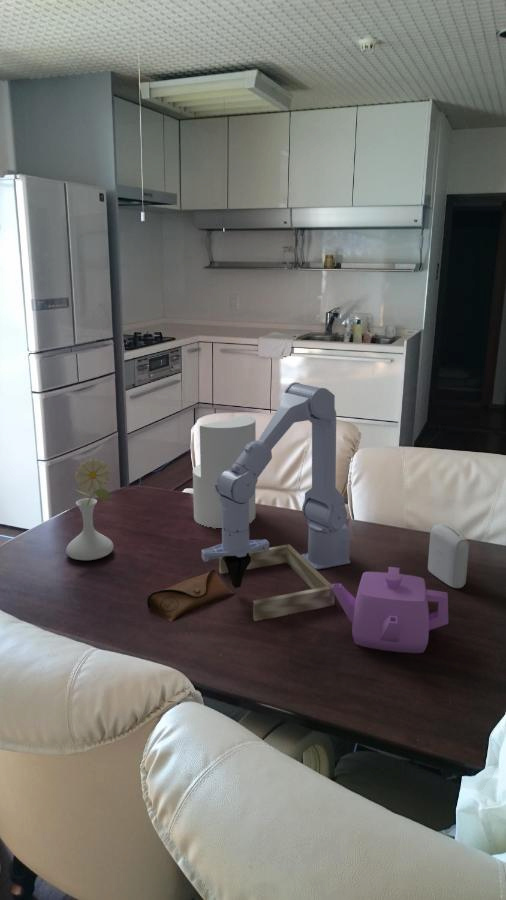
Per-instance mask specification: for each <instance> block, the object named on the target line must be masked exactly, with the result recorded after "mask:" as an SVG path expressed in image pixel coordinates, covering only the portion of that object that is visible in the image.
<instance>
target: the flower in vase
mask: <svg viewBox="0 0 506 900" xmlns="http://www.w3.org/2000/svg"><path fill="white" fill-rule="evenodd" d="M74 474H75V476H74V478H75V480H76V483H77V487H78V488H80V489H81V490H83V491H81V490H79V489H77V488H76V487H74V489H75V491H76V492H78V493H79V494H82V495H84V496H87V497H86V498H82V499H81V498H80V499H78V500H76V501H75V505H76V506H77V507H78V509H79V510H80V513H81V516H82V522H83V524H82V526H83V528H82V531H81V532H80V533H79V534H78V535H76V537H74V538H73V539H72V540H71V541H70V542H69V543H68V544H67V546H66V549H65V552H66V555H68V557H70V558H71V559H73V560H79V561H92V560H93V561H94V560H98V559H102V558H104V557H106V556H108V555H110V553H112V551H113V549H114V548H115V547H114V546H115V545H114V543H113V541H112V540H111V539H110V538H109V537H108V536H105V535H103V534H102V533H100V532H98V531H97V530H96V529H95V527H94V522H93V521H94V517H93V516H94V515H93V514H94V508H95V507H96V505H97V503H98V500H97V499H95V498H93V496H94V495H96V496H97V498H98V499H99V500H105V499H106V500H107V499H111V498H112V494H110V492H109V491H108V490H107V489H105V487H106V486H107V484H108V483H107V482H108V481H109V480H110V478H111V475H112V474H111V472H110V468H109V467H108V464H107V463H106V462H105V461H102V460H100V459H97V458H92V459H87V460H85V461H84V462H81V463H80V464H79V467H77V469H76V472H75V473H74ZM84 491H87V492H90V493H92V494H91V496H90V495H89V494H88V493H86V492H84ZM88 497H89V498H88Z"/></svg>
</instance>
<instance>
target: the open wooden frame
mask: <svg viewBox="0 0 506 900" xmlns="http://www.w3.org/2000/svg"><path fill="white" fill-rule="evenodd" d="M301 555H302V554H300V553H299V552H298V551H297V550H296V549H295V548H294V547H293V546H292V545H291V544H282V545H278V546H276V545H275V546H272V547H270V546H269V551H264V550H263V551H257V552H251V553H249V556H250V557H251V562H250V564H249V565H248V567H247V570H253V569H256V568H262V567H263V568H264V567H269V566H274V565H280V564H285V563H286V564H287V565H289V567H290V568H291V569H292V570H293V571H294V572H295V573H296V574H297V575H298V576H299V577H300V578H301V579H302V580H303V581H304V582H305V583H306V584H307V586H308V587H310V588H311V589H306V590H302V591H296V592H291V593H285V594H281V595H275V596H271V597H270V596H269V597H265V598H259V599H256V600H252V601H253V602H252V603H253V604H252V605H253V606H252V615H253V617H252V619H253V620H254V622H258V621H259V620H260V621H263V619H265V620H269V619H274V618H278V617H283V616H289V615H294V614H298V612H299V613H301V612H308V611H313V610H318V609H323V608H327V607H332V606H335V597H336V595H335V594H334V592H333V590H332V583H330V582H329V581H328V579H326V577H324V576H323V575H322V574H321V573H320V572H319V571H318V569H317V570H316V569H315V568H314V567H312V566H311V565H310V564H309V563H308V562H307V561H306V560H305V559H304V558H303V557H302V556H301ZM218 571H219V574H221V575H222V574H223V575H224V574H229V571H228V568H227V566H226V564H225V562H224V560H223V558H218ZM293 613H294V614H293ZM288 614H289V615H288Z"/></svg>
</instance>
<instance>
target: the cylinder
mask: <svg viewBox="0 0 506 900" xmlns="http://www.w3.org/2000/svg"><path fill="white" fill-rule="evenodd" d="M256 422H257V421H256V419H255V417H253V416H251V415H248V414H243V415H238V416H236V417H230V418H228V419H222V420H218V421H213V422H210V423H206V424H201V425H199V453H200V454H199V456H200V462H199V463H200V464H198V465H196V466H194V468H193V469H192V490H193V491H192V492H193V493H192V495H193V497H192V498H193V519H194V521H195V522H196V523H197V524H198V523H199V524H198V525H200V524H201V525H200V526H202V525H204V526H203V527H206V526H207V527H206V528H209V527H212V528H211V529H216V528H222V510H221V502H220V496H219V494H218V493H217V492H216V489H215V484H217V480H218V478H219V476H220V475H221V474H222V473H223V472H224V471H227V470H230V468H231V467H232V466H233V464H234V463H235V462H236V460H237V459H238V458H239V456H240V455H241V454H242V452H243V451H244V448H245V446H246V445H248V444H249V443H250V442H252V441H257V440H256V436H257V435H256V431H257V430H256V428H257V427H256V425H257V424H256ZM254 519H256V491H255V492H254V495H253V496H252V497H251V498H250V499H249V523H250V524H252V521H253V520H254ZM254 521H255V520H254ZM254 521H253V522H254Z"/></svg>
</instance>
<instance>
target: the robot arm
mask: <svg viewBox="0 0 506 900" xmlns="http://www.w3.org/2000/svg"><path fill="white" fill-rule="evenodd" d="M335 397H336V396H335V394H334V393H332V391H330V389H328V388H325V387H316V386H313V385H312V386H311V385H309V384H303V383H300V382H292V383H290V384H289V385H287V387H286V388H285V390H284V392H283V393H282V394H281V395H280V396H279V403H280V404H279V406H278V407H277V410H276V412H274V414H273V416H272V418H271V419H270V420H269V422H268V424H267V425H266V427H265V429H264V431H262V433H261V435H260V436H259V438H258V439H257V440H256V441H252V442H250V443H249V444H248V445H246V446H245V448H244V451H243V452H242V454H241V455H240V456H239V458H238V459H237V460H236V462H235V463H234V464H233V466H232V467H231V468H230V470H227V471H224V472H223V473H222V474H221V475H220V476H219V478H218V480H217V484H215V489H216V492H217V493H218V494H219V496H220V502H221V510H222V529H221V543H219V544H216V545H214V546H211V547H208V548H204V549H201V560H203V562H210V560H215V559H219V558H223V560H224V562H225V564H226V566H227V568H228V571H229V573H228V574H229V577H230V582H231V585H232V587H233V588H234V589H237V588H241V587H242V582H243V578H244V575H245V572H246V569H247V567H248V565H249V564H250V562H251V557H250V556H249V553H251V552H257V551H263V550H264V551H269V548H270V542H269V541H268V540H267V539H250V524H249V499H250V498H251V497H252V496H253V495H254V492H255V493H256V488H257V487H256V485H257V484H258V482H259V478H260V475H262V473H263V471H264V470H265V469H266V467H267V466H268V464H269V463H270V462H271V460H272V459H273V452H272V449H274V447H275V446H276V445H277V444H278V442H279V441H280V440H281V439H282V437H283V436H284V435H285V434H286V433H287V432H288V431H289V430H290V428H291V427H292V426H293V425H294V424H296V423H299V422H300V423H301V422H306V421H309V422H310V423H311V488H310V489H307V491H305V492H304V501H303V503H302V508H301V512H302V513H301V514H302V516H303V518H304V519H305V520H306V524H307V526H308V537H307V538H308V540H307V553H302V554H300V555H301V556H302V557H303V558H304V559H305V560H306V561H307V562H308V563H309V564H310V565H311V566H312V567H314V568H315V569H316V570H317V571H318V570H321V569H328V568H333V567H338V566H343V565H344V566H345V565H349V564H351V560H350V543H351V536H350V530H349V528H348V526H347V525H346V522H347V519H348V509H347V507H346V503H345V497H344V496H343V495H342V493H340V491H339V490H338V489H337V487H336V485H337V483H336V482H337V481H336V479H337V477H336V476H337V471H336V470H337V468H336V467H337V411H336V409H335V406H336V405H335V403H336V401H335V400H336V399H335ZM247 570H248V569H247Z"/></svg>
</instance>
